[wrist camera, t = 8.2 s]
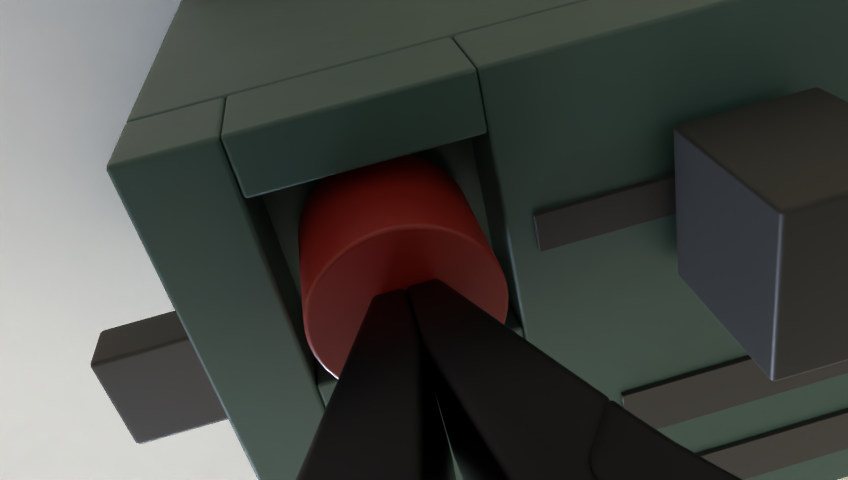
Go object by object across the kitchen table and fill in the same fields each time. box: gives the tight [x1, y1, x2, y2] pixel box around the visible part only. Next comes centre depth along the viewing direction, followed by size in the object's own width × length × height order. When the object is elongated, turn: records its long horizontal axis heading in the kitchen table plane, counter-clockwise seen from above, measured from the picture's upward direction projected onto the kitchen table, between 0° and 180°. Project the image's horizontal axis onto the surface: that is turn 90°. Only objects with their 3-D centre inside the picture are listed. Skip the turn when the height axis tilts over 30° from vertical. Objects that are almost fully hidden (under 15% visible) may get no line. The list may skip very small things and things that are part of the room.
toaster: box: [91, 0, 848, 480], centre depth 15 cm, size 18×10×9 cm, turn 101°
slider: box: [674, 87, 848, 381], centre depth 9 cm, size 2×2×2 cm
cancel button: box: [298, 155, 509, 379], centre depth 10 cm, size 3×3×2 cm
